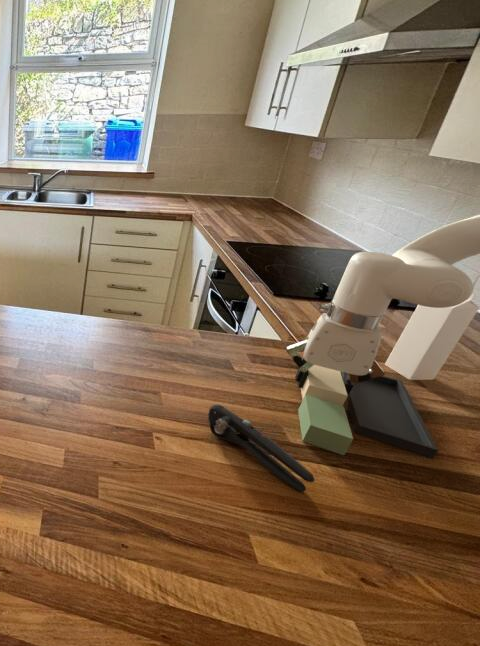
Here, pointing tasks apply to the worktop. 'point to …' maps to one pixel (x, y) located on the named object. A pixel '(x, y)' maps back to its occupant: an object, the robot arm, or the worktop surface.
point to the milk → (430, 339)
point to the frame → (388, 415)
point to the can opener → (240, 433)
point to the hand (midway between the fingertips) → (319, 389)
